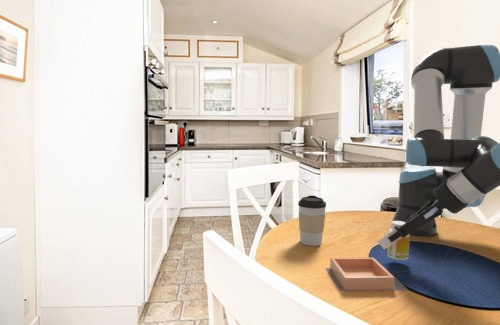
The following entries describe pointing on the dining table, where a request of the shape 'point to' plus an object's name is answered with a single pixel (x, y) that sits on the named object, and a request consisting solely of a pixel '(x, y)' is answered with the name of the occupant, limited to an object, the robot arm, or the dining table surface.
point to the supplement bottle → (399, 244)
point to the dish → (361, 274)
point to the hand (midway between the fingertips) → (384, 242)
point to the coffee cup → (311, 220)
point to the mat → (396, 287)
